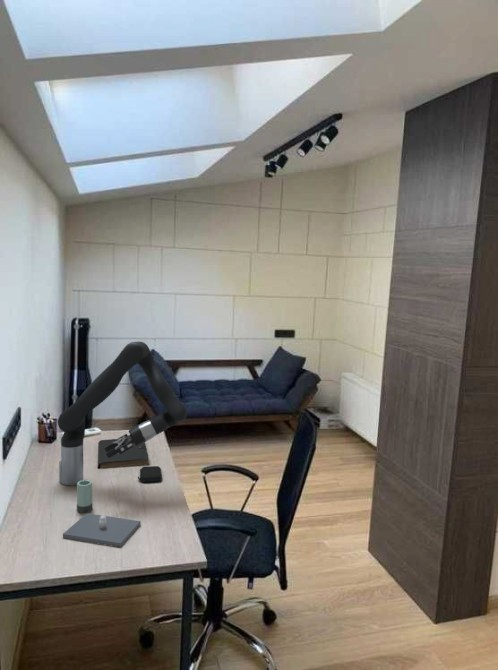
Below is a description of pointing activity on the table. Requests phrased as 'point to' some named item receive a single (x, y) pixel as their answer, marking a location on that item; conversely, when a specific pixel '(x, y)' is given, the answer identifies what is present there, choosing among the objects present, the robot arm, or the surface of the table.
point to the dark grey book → (122, 456)
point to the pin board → (102, 529)
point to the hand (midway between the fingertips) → (106, 452)
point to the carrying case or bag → (150, 474)
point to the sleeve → (84, 496)
